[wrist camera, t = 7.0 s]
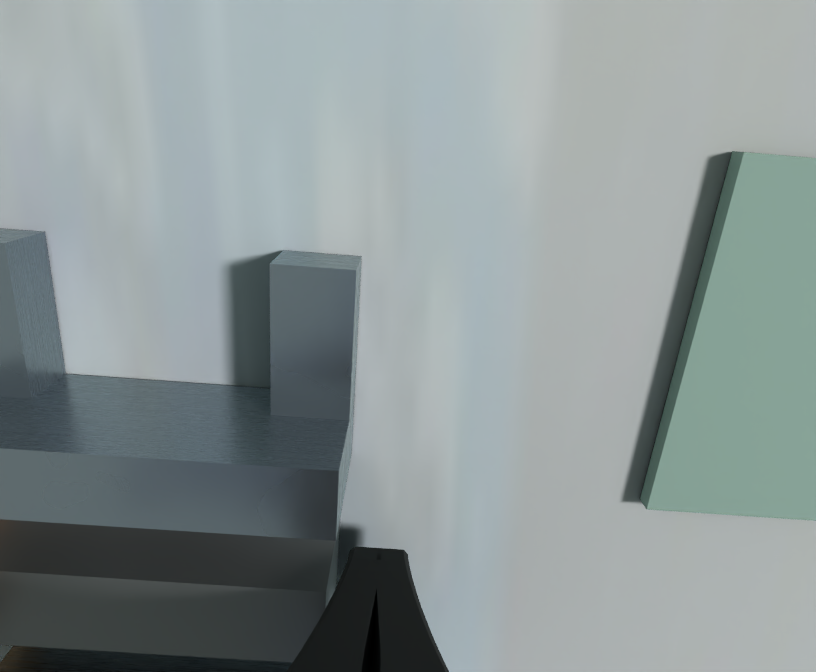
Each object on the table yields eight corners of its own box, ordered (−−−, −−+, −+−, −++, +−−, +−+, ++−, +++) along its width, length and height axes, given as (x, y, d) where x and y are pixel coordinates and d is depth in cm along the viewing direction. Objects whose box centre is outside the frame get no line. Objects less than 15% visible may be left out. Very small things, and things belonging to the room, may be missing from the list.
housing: (336, 747, 17) (322, 873, 14) (63, 732, 16) (-9, 857, 14) (361, 256, 11) (345, 297, 9) (-36, 225, 11) (-185, 257, 8)
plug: (335, 606, 15) (306, 799, 10) (-171, 574, 14) (-413, 760, 10) (342, 478, 13) (310, 640, 9) (-219, 438, 13) (-521, 587, 9)
